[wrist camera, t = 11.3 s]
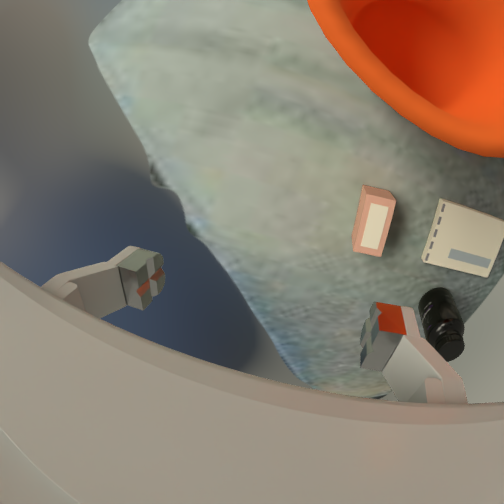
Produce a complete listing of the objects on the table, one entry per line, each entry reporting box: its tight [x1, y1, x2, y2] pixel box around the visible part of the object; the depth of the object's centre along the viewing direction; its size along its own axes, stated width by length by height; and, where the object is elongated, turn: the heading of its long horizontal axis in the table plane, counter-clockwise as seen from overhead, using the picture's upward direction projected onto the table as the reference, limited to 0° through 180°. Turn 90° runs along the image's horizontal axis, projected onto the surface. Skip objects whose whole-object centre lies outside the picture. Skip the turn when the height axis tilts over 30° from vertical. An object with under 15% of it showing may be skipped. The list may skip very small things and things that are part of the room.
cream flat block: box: [421, 198, 504, 277], centre depth 33 cm, size 14×10×2 cm
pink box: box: [352, 185, 396, 257], centre depth 35 cm, size 4×8×5 cm, turn 176°
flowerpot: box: [307, 0, 504, 158], centre depth 16 cm, size 25×25×20 cm
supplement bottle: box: [418, 288, 465, 362], centre depth 35 cm, size 7×7×12 cm
